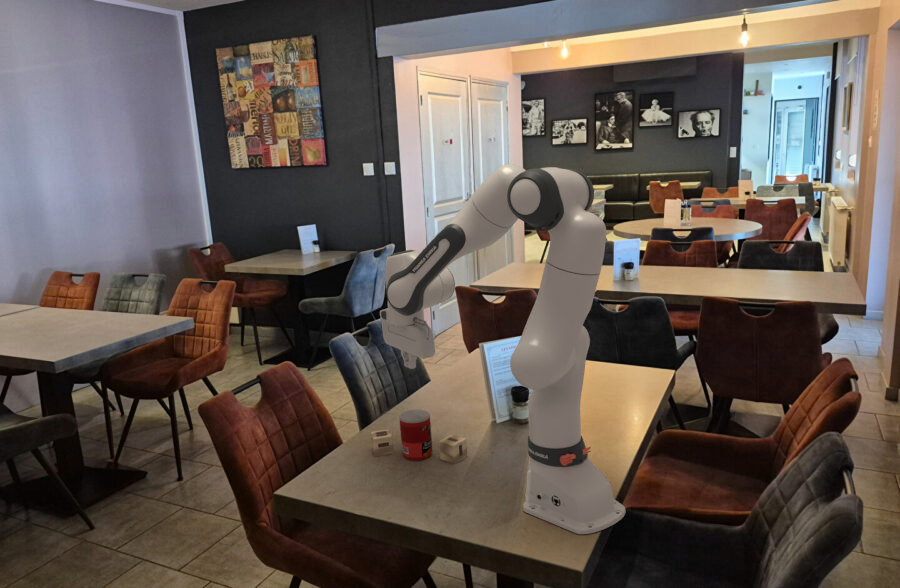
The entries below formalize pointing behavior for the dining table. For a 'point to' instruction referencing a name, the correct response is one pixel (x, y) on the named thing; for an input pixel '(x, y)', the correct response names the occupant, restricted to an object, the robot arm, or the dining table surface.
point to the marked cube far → (382, 442)
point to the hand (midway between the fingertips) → (410, 367)
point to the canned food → (416, 434)
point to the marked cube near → (453, 449)
